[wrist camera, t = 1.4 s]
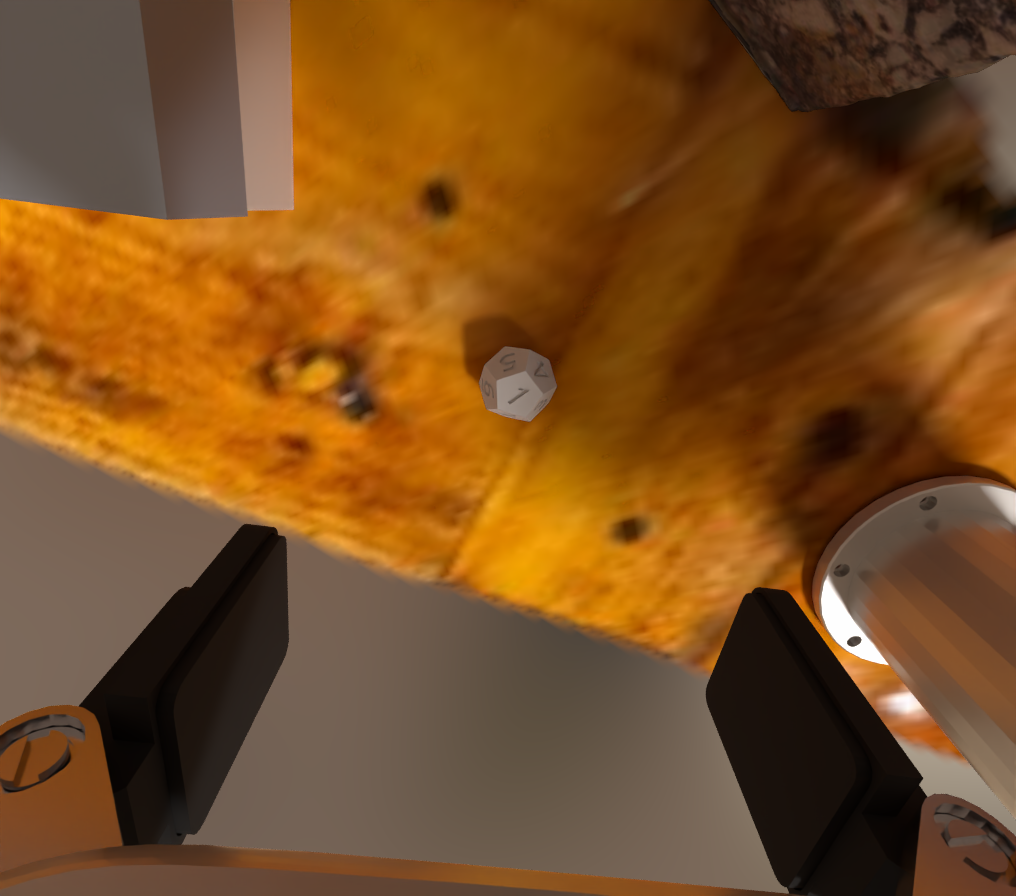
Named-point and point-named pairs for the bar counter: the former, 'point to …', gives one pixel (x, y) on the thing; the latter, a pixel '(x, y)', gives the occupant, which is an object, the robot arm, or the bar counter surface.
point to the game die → (517, 383)
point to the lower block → (265, 101)
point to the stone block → (867, 44)
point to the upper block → (122, 107)
